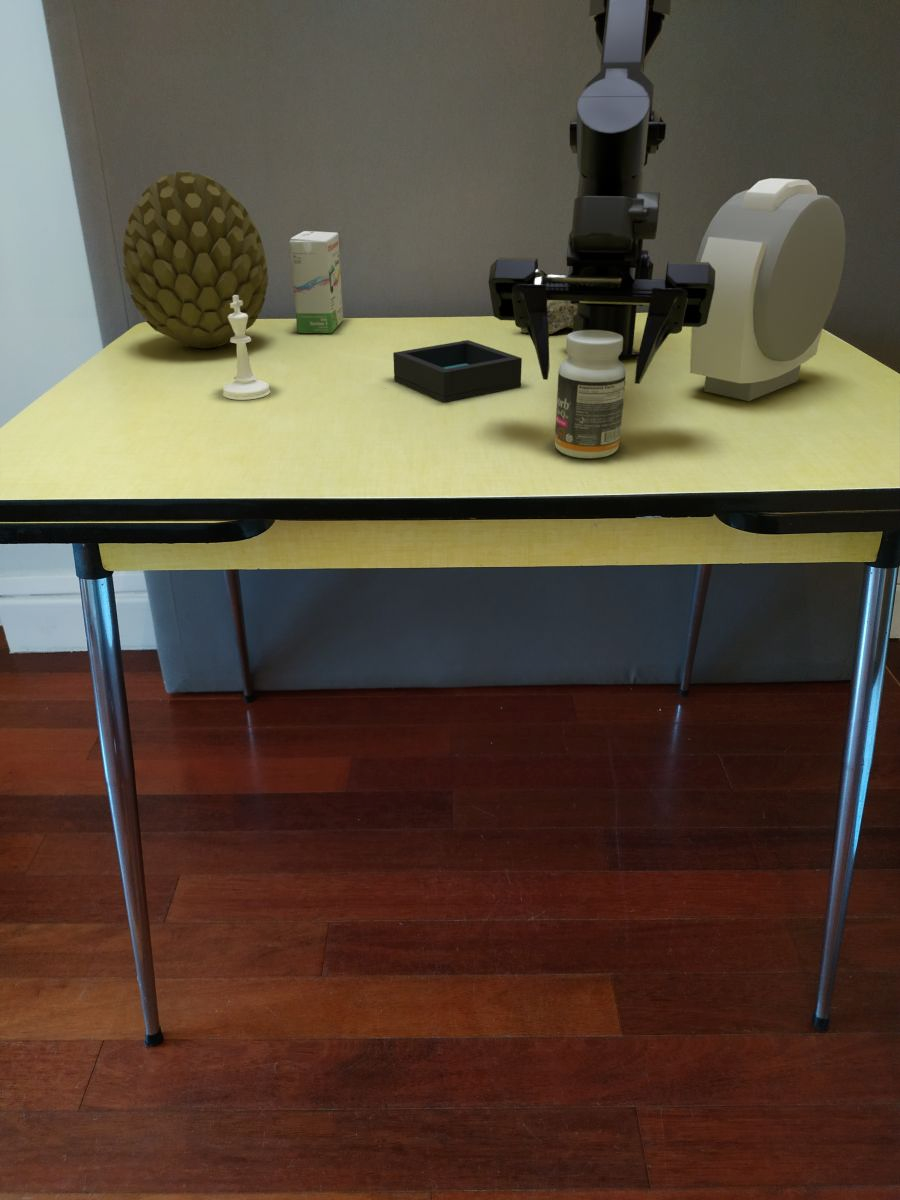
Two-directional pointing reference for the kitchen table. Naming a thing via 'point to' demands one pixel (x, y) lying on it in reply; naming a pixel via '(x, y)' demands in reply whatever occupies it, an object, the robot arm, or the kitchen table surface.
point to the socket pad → (457, 370)
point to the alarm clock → (767, 286)
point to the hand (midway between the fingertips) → (590, 379)
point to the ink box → (316, 281)
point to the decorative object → (193, 259)
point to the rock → (559, 315)
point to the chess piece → (243, 360)
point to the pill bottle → (590, 395)
